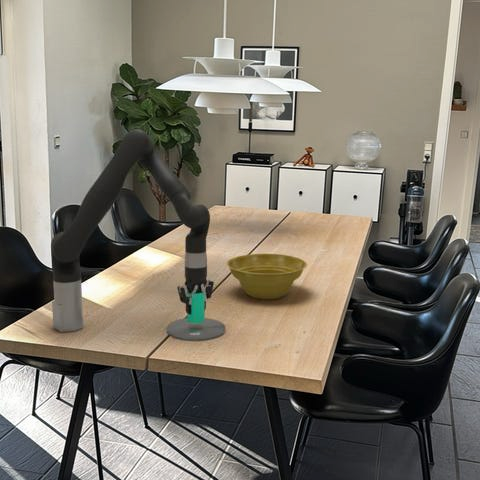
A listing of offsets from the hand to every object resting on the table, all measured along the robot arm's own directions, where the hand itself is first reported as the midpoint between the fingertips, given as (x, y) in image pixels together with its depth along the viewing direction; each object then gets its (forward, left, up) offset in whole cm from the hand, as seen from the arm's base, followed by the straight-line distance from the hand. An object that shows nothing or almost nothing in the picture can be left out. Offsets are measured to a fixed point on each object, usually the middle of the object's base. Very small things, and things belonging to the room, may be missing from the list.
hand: (196, 312), depth 229 cm
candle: (0, 0, -3) cm, 3 cm away
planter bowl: (+47, +17, -7) cm, 50 cm away
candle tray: (0, 0, -6) cm, 6 cm away
